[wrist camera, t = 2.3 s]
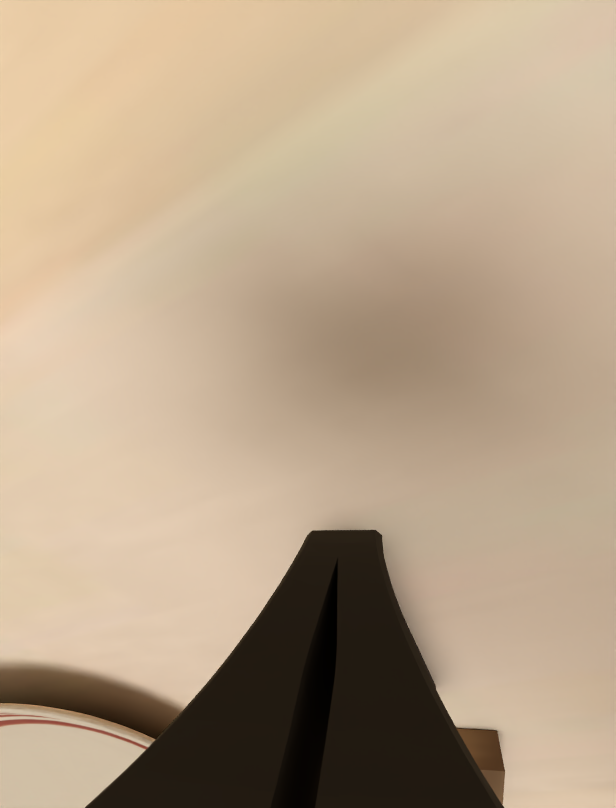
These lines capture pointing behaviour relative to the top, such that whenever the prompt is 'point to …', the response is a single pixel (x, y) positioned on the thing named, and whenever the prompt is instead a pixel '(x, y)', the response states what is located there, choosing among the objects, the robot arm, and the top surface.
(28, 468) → the top surface
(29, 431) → the top surface
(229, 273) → the top surface
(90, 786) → the dinner plate
